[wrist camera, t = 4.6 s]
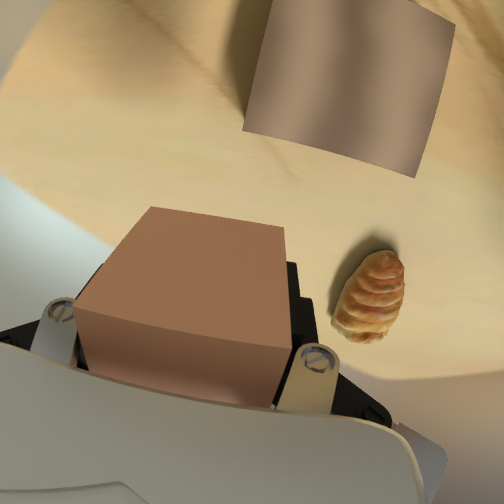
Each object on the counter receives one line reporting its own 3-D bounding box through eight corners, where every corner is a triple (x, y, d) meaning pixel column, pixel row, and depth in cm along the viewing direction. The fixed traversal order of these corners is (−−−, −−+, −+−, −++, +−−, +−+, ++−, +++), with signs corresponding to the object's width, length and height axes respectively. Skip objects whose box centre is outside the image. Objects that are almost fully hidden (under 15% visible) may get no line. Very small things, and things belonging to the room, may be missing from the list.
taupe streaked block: (424, 31, 18) (455, 25, 14) (389, 160, 24) (414, 178, 20) (279, -19, 17) (283, -41, 13) (245, 121, 23) (242, 130, 19)
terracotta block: (283, 227, 12) (291, 348, 7) (260, 327, 14) (253, 447, 9) (150, 206, 12) (71, 306, 6) (151, 308, 14) (105, 417, 9)
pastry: (349, 241, 28) (360, 264, 24) (413, 249, 28) (430, 270, 25) (326, 321, 32) (332, 348, 29) (384, 323, 33) (394, 348, 29)
